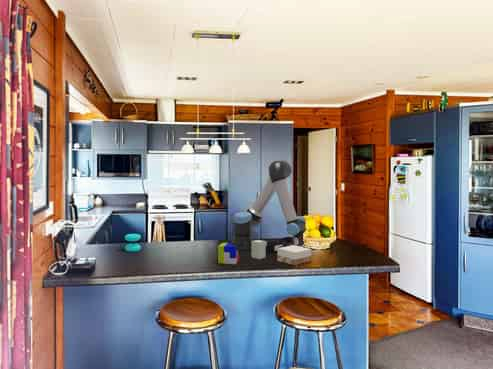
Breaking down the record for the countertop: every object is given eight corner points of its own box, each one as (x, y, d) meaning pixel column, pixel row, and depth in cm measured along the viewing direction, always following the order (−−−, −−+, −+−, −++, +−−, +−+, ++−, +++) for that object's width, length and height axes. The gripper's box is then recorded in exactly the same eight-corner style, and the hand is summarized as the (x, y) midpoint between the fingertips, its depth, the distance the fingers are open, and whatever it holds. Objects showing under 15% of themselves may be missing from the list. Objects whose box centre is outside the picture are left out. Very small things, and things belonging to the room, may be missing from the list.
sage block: (251, 257, 250) (251, 241, 249) (258, 255, 254) (258, 239, 253) (258, 259, 246) (258, 242, 245) (265, 257, 250) (265, 241, 249)
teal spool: (124, 233, 268) (139, 233, 272) (124, 249, 269) (139, 248, 273) (125, 236, 259) (141, 235, 263) (125, 252, 260) (141, 251, 263)
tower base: (277, 261, 242) (277, 255, 242) (293, 258, 252) (293, 251, 251) (295, 266, 232) (295, 259, 232) (311, 262, 241) (311, 255, 241)
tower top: (277, 254, 242) (277, 248, 242) (293, 251, 251) (293, 245, 251) (295, 259, 231) (295, 252, 231) (311, 256, 240) (311, 249, 240)
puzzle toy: (235, 264, 234) (235, 246, 233) (218, 263, 236) (218, 246, 235) (239, 260, 243) (239, 243, 243) (222, 259, 245) (222, 242, 245)
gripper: (304, 251, 258) (281, 256, 244) (275, 244, 277) (252, 249, 262) (305, 239, 258) (282, 244, 243) (275, 233, 276) (253, 237, 262)
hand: (266, 246), depth 253 cm, fingers open, 13 cm apart
